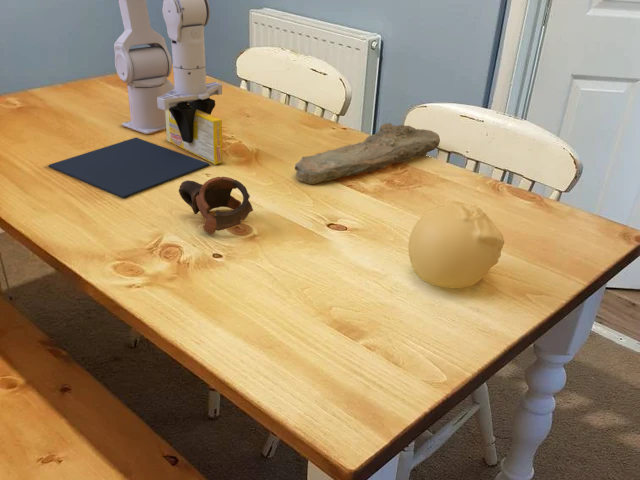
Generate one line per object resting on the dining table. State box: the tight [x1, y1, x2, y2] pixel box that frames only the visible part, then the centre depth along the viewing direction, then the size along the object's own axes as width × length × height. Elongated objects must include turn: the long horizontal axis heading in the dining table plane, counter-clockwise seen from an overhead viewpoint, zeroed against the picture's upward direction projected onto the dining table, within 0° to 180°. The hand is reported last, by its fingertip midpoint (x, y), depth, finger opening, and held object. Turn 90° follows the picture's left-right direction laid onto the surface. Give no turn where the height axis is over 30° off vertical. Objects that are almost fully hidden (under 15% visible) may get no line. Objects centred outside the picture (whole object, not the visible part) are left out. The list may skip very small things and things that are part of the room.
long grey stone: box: [294, 122, 441, 185], centre depth 130 cm, size 35×5×10 cm
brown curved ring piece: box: [178, 176, 254, 236], centre depth 106 cm, size 12×10×8 cm
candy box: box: [165, 107, 223, 166], centre depth 130 cm, size 16×2×8 cm, turn 43°
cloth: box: [48, 137, 210, 199], centre depth 124 cm, size 20×20×1 cm
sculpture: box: [407, 200, 505, 289], centre depth 94 cm, size 12×12×11 cm
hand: (193, 139), depth 130 cm, fingers closed on candy box, 2 cm apart
